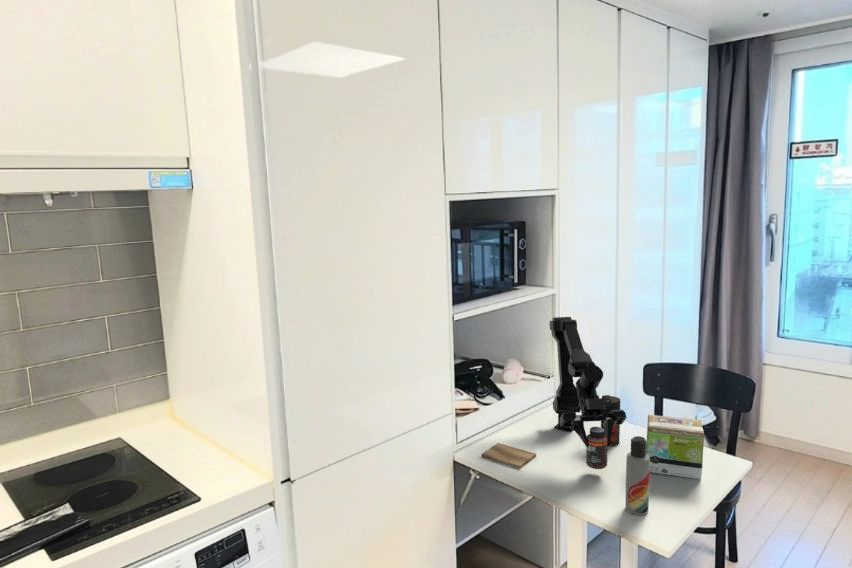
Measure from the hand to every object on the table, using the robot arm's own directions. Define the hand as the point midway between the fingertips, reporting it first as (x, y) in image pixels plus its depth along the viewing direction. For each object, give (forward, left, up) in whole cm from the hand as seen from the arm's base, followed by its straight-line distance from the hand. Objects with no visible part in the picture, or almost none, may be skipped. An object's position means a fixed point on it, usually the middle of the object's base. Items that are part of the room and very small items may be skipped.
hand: (598, 446), depth 168 cm
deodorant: (-24, -6, -10) cm, 26 cm away
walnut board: (+4, -28, -9) cm, 30 cm away
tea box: (-17, +16, -10) cm, 25 cm away
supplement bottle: (-1, -1, -7) cm, 7 cm away
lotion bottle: (+11, +15, -10) cm, 21 cm away
